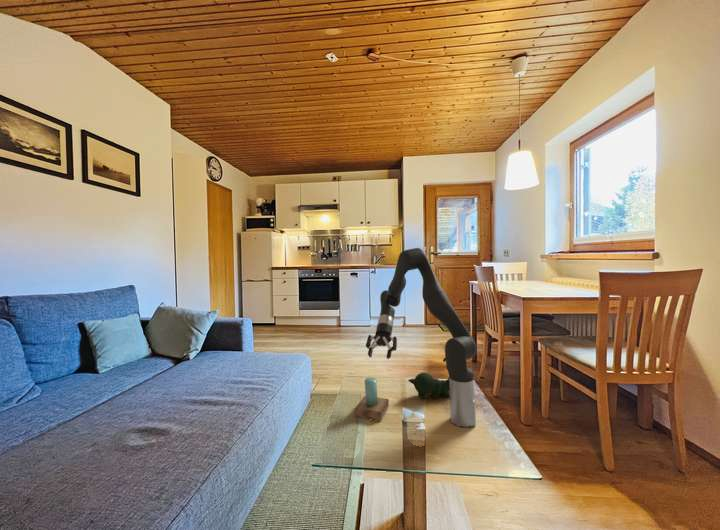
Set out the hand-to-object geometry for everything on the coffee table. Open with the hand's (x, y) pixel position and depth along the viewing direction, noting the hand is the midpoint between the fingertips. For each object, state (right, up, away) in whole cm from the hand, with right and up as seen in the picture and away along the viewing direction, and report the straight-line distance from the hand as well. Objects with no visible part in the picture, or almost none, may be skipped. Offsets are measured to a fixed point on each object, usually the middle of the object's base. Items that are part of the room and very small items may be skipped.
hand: (378, 357), depth 140 cm
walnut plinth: (-3, -20, -10) cm, 23 cm away
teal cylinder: (-3, -16, -10) cm, 19 cm away
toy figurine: (+26, -18, +2) cm, 32 cm away
